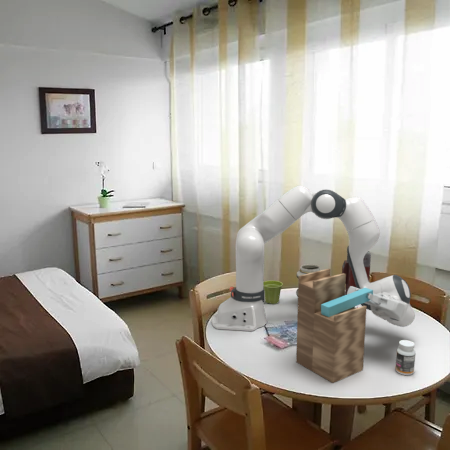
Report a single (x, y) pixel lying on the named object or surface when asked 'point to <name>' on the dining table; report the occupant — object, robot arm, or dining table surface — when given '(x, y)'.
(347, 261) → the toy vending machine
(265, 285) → the plant pot
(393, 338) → the dining table surface
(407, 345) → the pill bottle
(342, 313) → the stepped wooden block
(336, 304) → the bar
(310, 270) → the apothecary jar
